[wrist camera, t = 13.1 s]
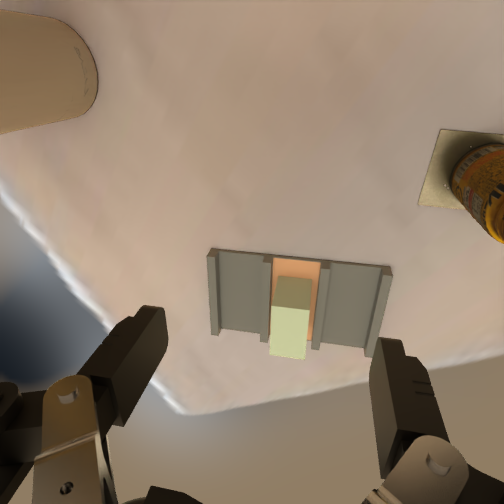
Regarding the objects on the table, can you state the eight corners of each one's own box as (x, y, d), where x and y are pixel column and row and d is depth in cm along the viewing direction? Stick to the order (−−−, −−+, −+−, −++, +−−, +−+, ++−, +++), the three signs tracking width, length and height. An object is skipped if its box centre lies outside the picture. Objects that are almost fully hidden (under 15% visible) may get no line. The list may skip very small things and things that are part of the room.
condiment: (507, 213, 34) (585, 280, 24) (417, 203, 35) (453, 262, 25) (541, 137, 31) (649, 176, 20) (439, 128, 32) (493, 161, 22)
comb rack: (215, 325, 48) (211, 334, 47) (211, 248, 43) (206, 256, 41) (371, 346, 45) (373, 357, 43) (390, 266, 39) (392, 276, 38)
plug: (276, 321, 45) (269, 354, 40) (278, 275, 42) (271, 305, 37) (307, 325, 45) (304, 359, 40) (312, 279, 41) (309, 310, 36)
